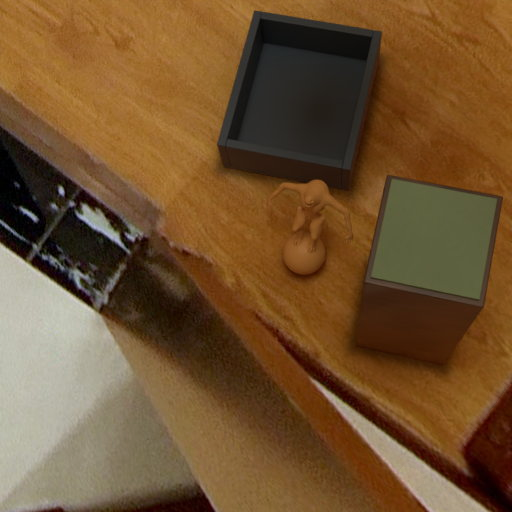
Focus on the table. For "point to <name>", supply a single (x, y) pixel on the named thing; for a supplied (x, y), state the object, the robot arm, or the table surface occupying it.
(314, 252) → the figurine
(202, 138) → the table surface
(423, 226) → the mat
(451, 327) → the stand
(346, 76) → the tray
